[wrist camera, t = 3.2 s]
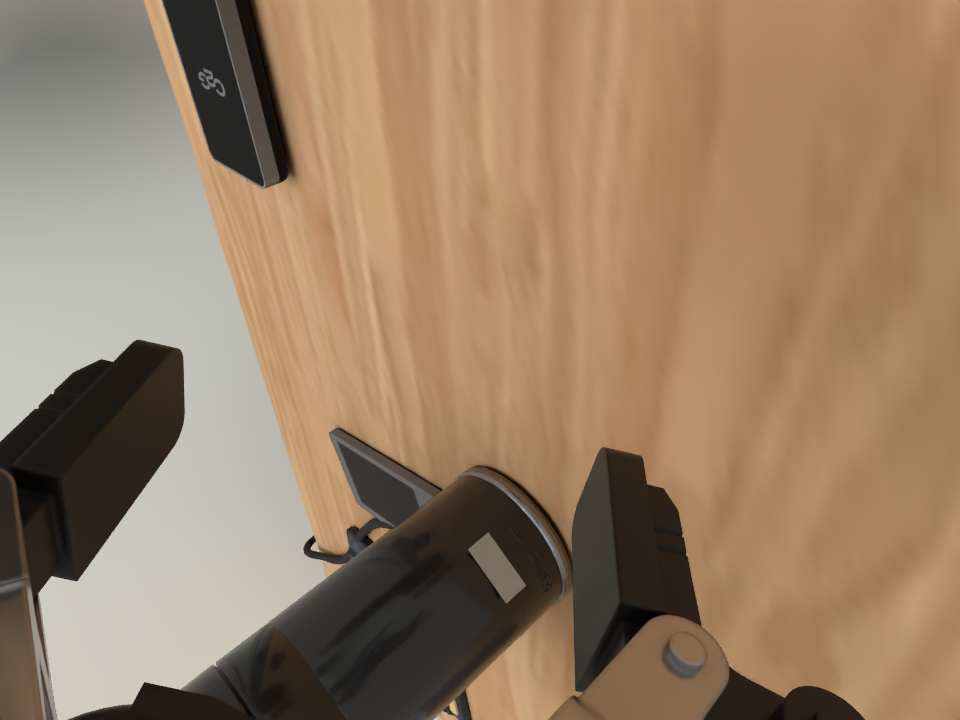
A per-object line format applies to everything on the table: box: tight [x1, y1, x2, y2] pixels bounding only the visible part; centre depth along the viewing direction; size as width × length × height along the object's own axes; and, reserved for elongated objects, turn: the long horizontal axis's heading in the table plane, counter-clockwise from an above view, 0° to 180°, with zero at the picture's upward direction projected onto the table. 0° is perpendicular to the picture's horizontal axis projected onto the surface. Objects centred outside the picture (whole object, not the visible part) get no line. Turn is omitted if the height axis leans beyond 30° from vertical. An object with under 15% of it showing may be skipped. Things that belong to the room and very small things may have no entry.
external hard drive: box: [162, 0, 289, 189], centre depth 40 cm, size 7×11×2 cm, turn 3°
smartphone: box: [329, 428, 441, 527], centre depth 55 cm, size 15×8×1 cm, turn 108°
